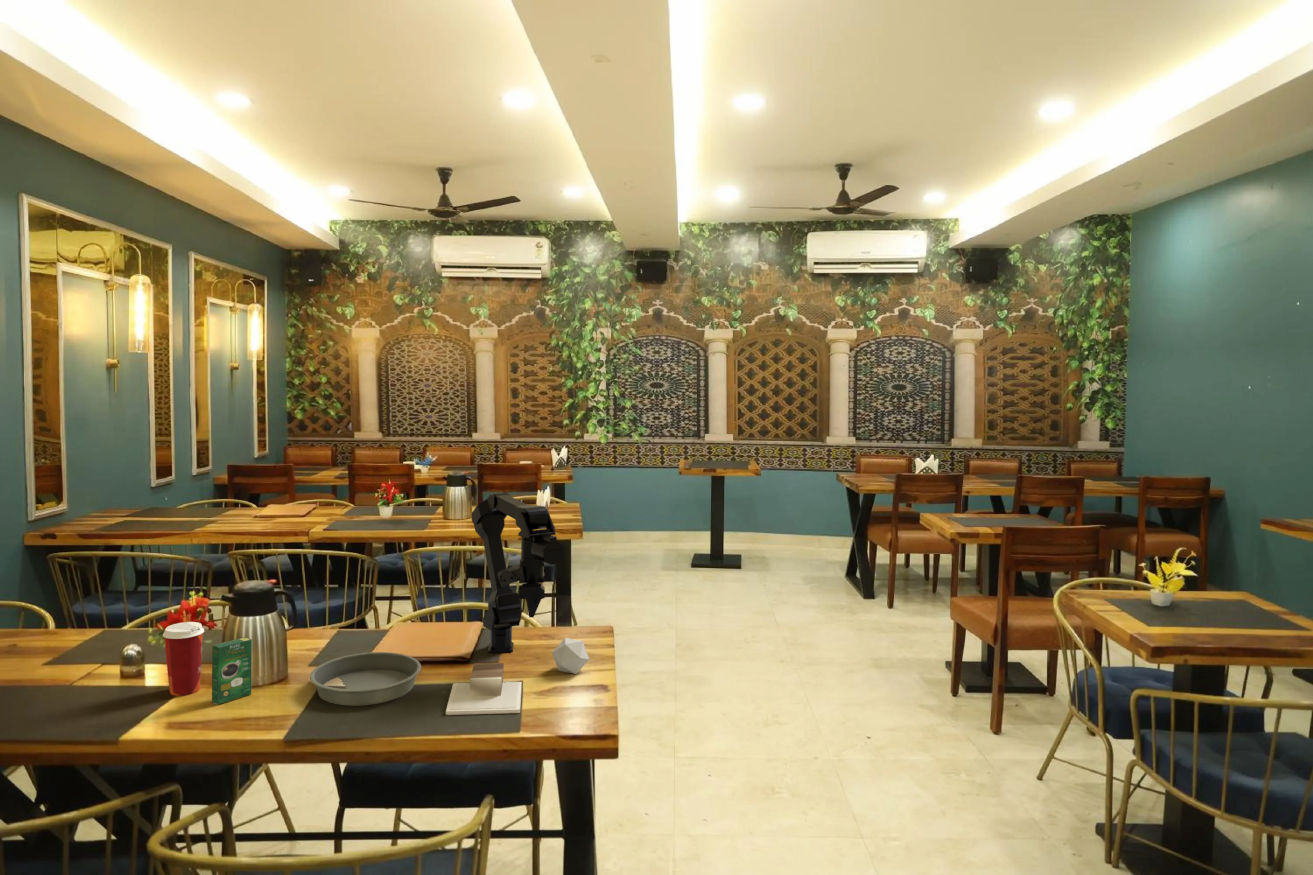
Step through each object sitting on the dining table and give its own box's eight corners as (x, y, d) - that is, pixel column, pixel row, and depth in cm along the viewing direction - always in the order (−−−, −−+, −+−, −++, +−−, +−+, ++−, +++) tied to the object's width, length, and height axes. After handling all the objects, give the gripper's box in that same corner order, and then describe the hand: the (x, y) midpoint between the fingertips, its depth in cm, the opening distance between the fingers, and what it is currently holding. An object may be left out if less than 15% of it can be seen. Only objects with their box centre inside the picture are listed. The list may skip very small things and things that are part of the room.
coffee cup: (213, 687, 193) (212, 623, 192) (182, 700, 186) (181, 634, 184) (186, 681, 196) (184, 619, 195) (154, 694, 188) (153, 629, 187)
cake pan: (371, 661, 213) (371, 644, 213) (442, 682, 201) (443, 664, 201) (286, 693, 192) (286, 674, 191) (360, 718, 180) (360, 698, 179)
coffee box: (245, 691, 192) (245, 635, 191) (253, 694, 190) (252, 637, 189) (211, 702, 185) (210, 644, 184) (218, 705, 183) (217, 647, 182)
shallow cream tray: (453, 686, 198) (453, 682, 198) (521, 685, 201) (521, 681, 200) (445, 714, 182) (445, 710, 182) (519, 712, 185) (520, 708, 185)
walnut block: (474, 663, 200) (470, 678, 190) (503, 662, 201) (501, 678, 191) (473, 679, 201) (469, 695, 191) (503, 678, 202) (500, 695, 192)
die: (594, 671, 213) (582, 635, 217) (589, 665, 205) (577, 628, 209) (563, 682, 212) (553, 646, 216) (557, 677, 205) (546, 640, 209)
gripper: (501, 548, 218) (500, 606, 220) (498, 565, 200) (497, 629, 201) (544, 548, 220) (543, 606, 221) (545, 565, 201) (543, 628, 203)
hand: (531, 616), depth 211 cm, fingers closed
